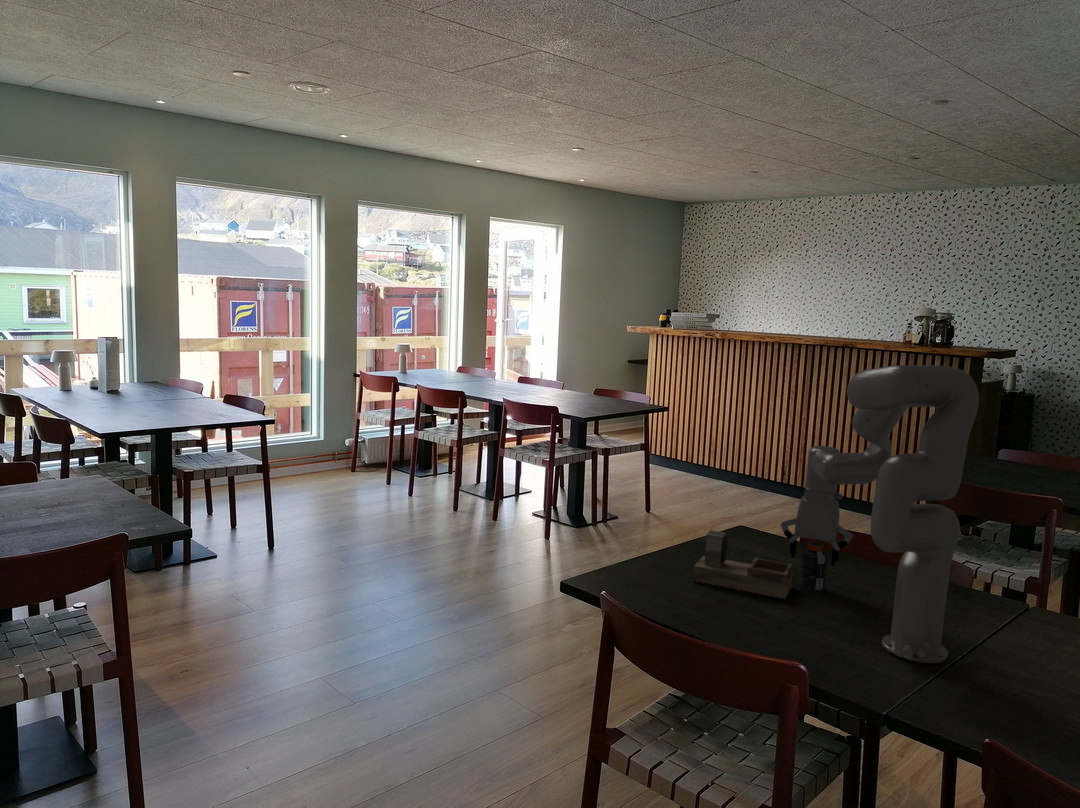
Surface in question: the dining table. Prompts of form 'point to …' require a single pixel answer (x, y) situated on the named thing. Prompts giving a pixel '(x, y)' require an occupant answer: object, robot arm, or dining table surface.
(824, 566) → the pill bottle
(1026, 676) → the dining table surface
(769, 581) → the wooden holder
